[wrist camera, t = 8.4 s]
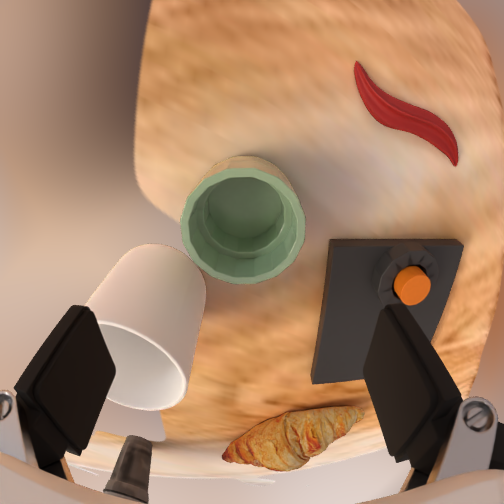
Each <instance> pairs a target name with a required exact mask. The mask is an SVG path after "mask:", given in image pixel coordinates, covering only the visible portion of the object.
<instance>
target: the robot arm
mask: <svg viewBox="0 0 504 504" xmlns="http://www.w3.org/2000/svg"><path fill="white" fill-rule="evenodd" d="M115 375H116V367H115V364H114V362H113V360H112V357H111V355H110V353H109V350H108V348H107V345H106V343H105V340H104V338H103V335H102V333H101V330H100V327H99V325H98V322H97V319H96V317H95V314H94V312H93V311H91V310H90V308H89V307H88V306H79V305H73V306H71V307H70V308H69V310H68V311H67V312H66V314H65V315H64V316H63V317H62V319H61V320H60V321H59V323H58V324H57V325H56V327H55V328H54V329H53V331H52V332H51V333H50V335H49V336H48V338H47V339H46V340H45V342H44V343H43V345H42V346H41V347H40V349H39V350H38V352H37V353H36V354H35V356H34V357H33V359H32V360H31V362H30V363H29V365H28V366H27V368H26V369H25V371H24V372H23V374H22V375H21V377H20V378H19V380H18V382H17V383H16V385H15V386H14V389H15V390H16V392H17V395H16V396H14V395H13V393H12V392H10V391H8V390H0V504H145V503H141V502H136V501H132V500H128V499H124V498H120V497H116V496H113V495H109V494H106V493H102V492H99V491H96V490H92V489H90V488H87V487H83V486H81V485H78V484H76V483H74V480H73V478H72V475H71V473H70V470H69V468H68V465H67V462H66V460H65V457H64V454H65V451H67V452H69V453H72V454H75V455H78V456H80V455H81V453H82V450H84V449H86V447H87V445H88V443H89V440H90V437H91V435H92V432H93V429H94V427H95V424H96V421H97V419H98V416H99V414H100V411H101V409H102V406H103V404H104V401H105V399H106V397H107V394H108V392H109V389H110V387H111V385H112V382H113V380H114V378H115ZM363 376H364V379H365V382H366V385H367V388H368V391H369V393H370V396H371V399H372V402H373V405H374V408H375V411H376V414H377V417H378V420H379V423H380V426H381V430H382V433H383V436H384V439H385V442H386V446H387V449H388V452H389V454H390V455H391V456H394V457H395V460H396V463H398V462H402V461H405V460H409V461H410V464H411V470H410V472H409V474H408V476H407V478H406V480H405V482H404V484H403V486H402V488H401V490H400V492H399V493H398V494H394V495H391V496H387V497H383V498H379V499H375V500H371V501H366V502H362V503H357V504H504V424H502V423H500V422H498V415H497V412H496V409H495V408H494V406H493V405H492V404H491V403H490V402H489V401H488V400H486V399H484V398H482V397H477V396H475V397H469V398H467V399H465V400H464V401H463V399H462V397H461V393H460V391H459V390H458V388H457V386H456V384H455V382H454V381H453V379H452V377H451V376H450V374H449V372H448V370H447V369H446V367H445V365H444V364H443V362H442V360H441V359H440V357H439V356H438V354H437V352H436V351H435V349H434V348H433V346H432V344H431V343H430V341H429V340H428V338H427V337H426V335H425V334H424V332H423V330H422V329H421V327H420V326H419V324H418V323H417V321H416V320H415V318H414V317H413V315H412V314H411V313H410V311H409V310H408V308H407V307H406V305H405V304H404V303H395V304H387V305H386V306H385V308H384V309H381V310H380V313H379V316H378V320H377V323H376V327H375V331H374V334H373V337H372V341H371V344H370V347H369V351H368V354H367V357H366V360H365V363H364V366H363Z"/></svg>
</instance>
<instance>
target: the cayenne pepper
mask: <svg viewBox="0 0 504 504" xmlns="http://www.w3.org/2000/svg"><path fill="white" fill-rule="evenodd" d="M354 73H355V79H356V84H357V87H358V90H359V93H360V96H361V98H362V100H363V102H364V104H365V106H366V108H367V109H368V111H369V112H370V114H371V115H372V116H373V117H374V118H375V119H376V120H377V121H378V122H379V123H381V124H383V125H384V126H387V127H389V128H393V129H397V130H402V131H406V132H410V133H412V134H415V135H417V136H419V137H421V138H423V139H425V140H426V141H428V142H430V143H431V144H433V145H434V146H435V147H437V148H438V149H439V150H440V151H442V152H443V153H444V154H445V155H446V156H447V157H448V158H449V159H450V160H451V162H452V164H453V165H454V166H455V167H456V166H457V163H458V147H457V142H456V139H455V137H454V135H453V133H452V131H451V129H450V128H449V127H448V125H447V124H446V123H445V122H444V121H442V120H441V119H440V118H439V117H437V116H436V115H434V114H433V113H431V112H429V111H427V110H424V109H422V108H419V107H416V106H413V105H411V104H408V103H406V102H403V101H401V100H398V99H396V98H394V97H392V96H390V95H389V94H387V93H385V92H384V91H382V90H381V89H380V88H379V87H377V86H376V85H375V84H374V83H373V81H372V80H371V79H370V78H369V76H368V75H367V73H366V72H365V70H364V69H363V67H362V66H361V65H360V64H359V63H358V62H357V61H356V63H355V67H354Z"/></svg>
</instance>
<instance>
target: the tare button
mask: <svg viewBox="0 0 504 504" xmlns="http://www.w3.org/2000/svg"><path fill="white" fill-rule="evenodd" d="M430 287H431V283H430V279H429V278H428V277H427V276H426V274H425V273H424V272H423V271H422V270H421V269H420V268H419V267H417V266H408V267H406V268H404V269H402V270H401V271H400V272H399V273H398V275H397V276H396V278H395V280H394V290H395V292H396V293H397V295H398V296H399V297H400V299H401V300H402V302H403V303H404V304H406V305H415V304H418V303H420V302H421V301H422V300H424V299H425V297H426V296H427V295H428V293H429V291H430Z"/></svg>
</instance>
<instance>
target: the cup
mask: <svg viewBox="0 0 504 504" xmlns="http://www.w3.org/2000/svg"><path fill="white" fill-rule="evenodd" d="M205 302H206V285H205V281H204V278H203V276H202V274H201V272H200V270H199V268H198V267H197V266H196V264H195V263H194V262H193V261H192V260H191V259H190V258H189V257H188V256H186V255H185V254H184V253H182V252H180V251H178V250H177V249H175V248H172V247H169V246H166V245H162V244H145V245H140V246H137V247H135V248H133V249H131V250H130V251H128V252H127V253H126V254H125V255H123V256H122V257H121V258H120V260H119V261H118V262H117V263H116V264H115V266H114V267H113V268H112V270H111V271H110V272H109V274H108V275H107V276H106V277H105V279H104V280H103V281H102V283H101V284H100V285H99V286H98V288H97V289H96V290H95V292H94V293H93V295H92V296H91V297H90V299H89V300H88V301H87V303H86V304H85V305H84V306H88V307H89V308H90V310H91V311H93V312H94V314H95V317H96V319H97V322H98V325H99V327H100V330H101V333H102V335H103V338H104V340H105V343H106V345H107V348H108V350H109V353H110V355H111V357H112V360H113V362H114V364H115V367H116V375H115V378H114V380H113V382H112V385H111V387H110V389H109V392H108V394H107V397H106V398H107V399H109V400H111V401H113V402H116V403H118V404H121V405H124V406H127V407H131V408H135V409H140V410H162V409H167V408H170V407H172V406H174V405H176V404H178V403H179V402H180V401H181V400H182V399H183V398H184V396H185V395H186V392H187V388H188V383H189V378H190V373H191V368H192V364H193V359H194V354H195V349H196V344H197V340H198V335H199V331H200V326H201V321H202V317H203V312H204V308H205Z"/></svg>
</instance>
